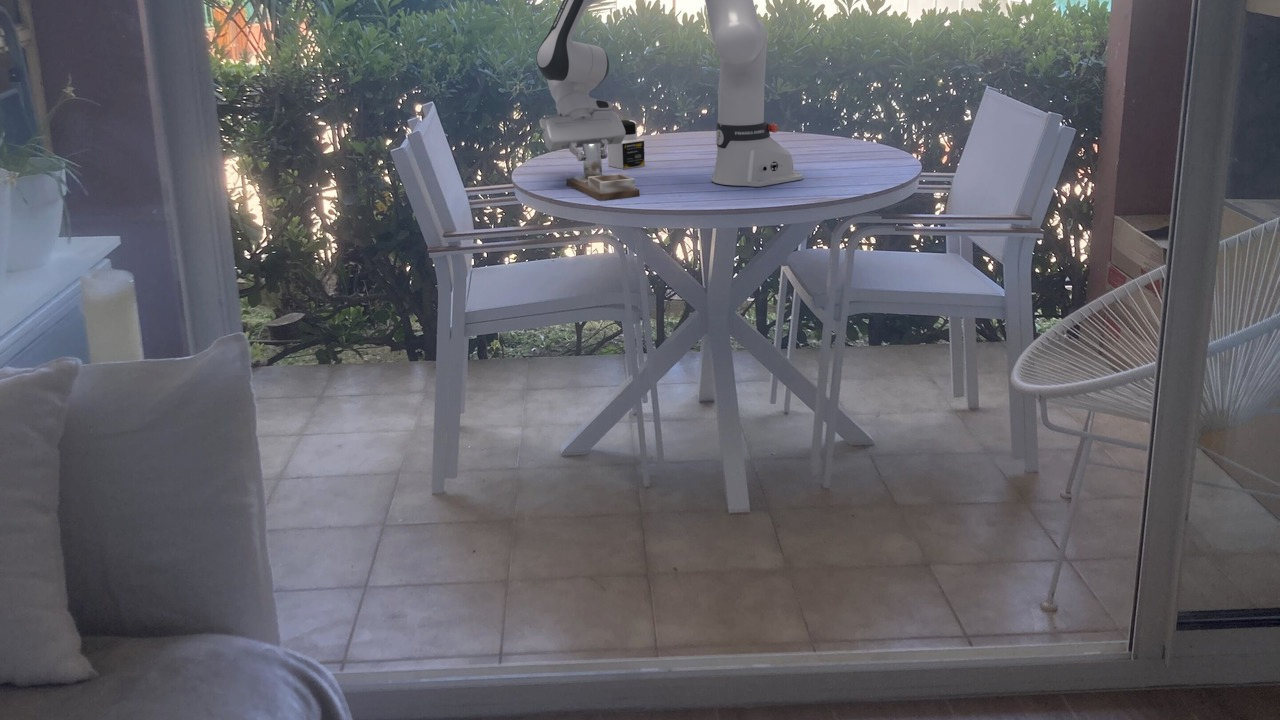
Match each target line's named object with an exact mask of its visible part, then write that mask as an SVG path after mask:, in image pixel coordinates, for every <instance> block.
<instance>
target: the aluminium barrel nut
mask: <svg viewBox="0 0 1280 720" xmlns="http://www.w3.org/2000/svg"><path fill="white" fill-rule="evenodd" d="M601 149H602V148H601V143H600V142H585V143H583V147H582V151H583V152H584V155H585V159H584V161H582V163H583V164H582V165H583V176H584V177H586V178H588V177H591V176H601V175H603V171H602V170H603V166H602V165H603V164H602V159H601Z"/></svg>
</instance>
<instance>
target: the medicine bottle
mask: <svg viewBox="0 0 1280 720" xmlns="http://www.w3.org/2000/svg"><path fill="white" fill-rule="evenodd" d="M620 120H621V122H622V124H623V126H624V128H625V132H626V134H625V137H624V139H623V141H622V143H620V144H609V145H607V154H608V155H607V162H608V164H607V165H608V167H612V168H615V169H616V168H617V169H619V170H628V169H629V170H630V169H635V168H642V167H644V166H645V165H646V161H645V140H644V138H637V137H638V126H637V125H638V123H637V122H636V121H635V120H632V119H623V120H622V119H620Z"/></svg>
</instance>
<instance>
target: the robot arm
mask: <svg viewBox="0 0 1280 720" xmlns="http://www.w3.org/2000/svg"><path fill="white" fill-rule="evenodd" d="M598 1H600V0H562V2H561V5H560V6H559V9H558V11H557V14H556V15H555V19H554V21H552V22H553V23H552V24H551V27H550V28H549V31H548V33H547V34H546V35H545V38H543V39H544V40H542V43H540V45H539V48H538V49H537V52H536V65H537V68H538V70H539V71H540V73H541V74H542V76H543V77H544V78H545V79H546V80H547V81H546V82H547V85H548V89H549V92H550V95H551V97H552V98H553V101H554V102H555V109H556V112H557V114H552V115H548V114H547V115H543V116H542V117H540V119H539V120H538V123H539V127H540V130H542V131H543V138H544V139H543V140H544V143H545V146H546V148H547V149H548V150H550V151H558V150H567V149H568V150H569V152H570V153H571V154H572V155H574V156H575V158H576V159H577V162H583V161H584V159H585V155H584V152H583V150H582V151H581V150H580V149H579V148H583V143H585V142H600V143H601V160H605V159H608V150H607V149H608V145H609V144H620V143H622V141H623V139H624V137H625V134H626V132H625V128H624V126H623V124H622V122H621V120H622V119H621V118H620V116H619V115H618V113H617V112H616V111H614V110H613V109H614V106H613V103H612V102H611V101H608V100H602V99H598V98H594V97H591V96H590V92H592V91H593V90H595V89H597V88H598V87H599V86H600V84H601V83H602V82H604V81H605V80H606V78H607V77H608V75H609V74H610V73H609V71H610V61H609V60H610V59H609V56H608V54H607V52H606V50H605V49H604V48H603V47H601V46H598V45H593V44H590V43H586V42H581V41H580V42H578V41H574V40H572V38H573V36H574V34H575V33H576V30H577V27H578V25H579V23H580V21H581V19H582V18H583V17H582V16H583V14H584V12H585V11H586V9H587V8H588V7H589V6H591V5H592V4H594V3H597V2H598ZM704 2H705V7H706V13H707V18H708V22H709V26H710V27H709V28H710V31H711V36H712V39H713V44H714V48H715V52H716V54H717V55H718V57H719V59H720V64H719V79H718V88H717V102H718V103H717V122H716V133H715V139H716V140H715V141H716V146H717V150H716V156H715V157H716V158H715V159H716V160H715V165H714V171H713V175H712V178H711V182H713V183H715V184H718V185H725V186H735V187H736V186H739V187H741V186H743V187H754V188H755V187H756V188H757V187H765V186H772V185H778V184H782V183H788V182H794V181H800V180H804V179H803V177H804V176H803V173H801V171H798V170H795V168H794V161H793V156H792V154H791V153H790V151H789V150H788V149H787V148H784V147H783V146H782V145H781V144H780V143H779V142H778V141H776V140H775V139H774V138H772V137H771V134H770V132H771V133H777V132H778V131H779V126H778V125H777V124H776V123H775V124H774V123H770V124H769V123H768V122H765V84H766V82H765V80H766V68H767V49H768V48H767V44H768V37H767V36H768V33H767V29H766V27H765V25H764V23H763V22H762V21H761V20H760V19H759V18H758V17H757V12H756V7H755V3H754V0H704Z"/></svg>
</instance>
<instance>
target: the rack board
mask: <svg viewBox="0 0 1280 720" xmlns="http://www.w3.org/2000/svg"><path fill="white" fill-rule="evenodd" d="M635 181H636V180H635V178H633V177H631V176H628V175H626V174H623V173H612V174H602V175H601V176H591V177H588V178H586V177H584V175H583V176H582V175H581V176H574V177H572V178H566V182H565V183H566V186H567V187H570V188H572V189H574V190H576V191H578V192H580V193H582V192H583V193H582V194H584V193H585V194H584V195H587V196H589V197H590V198H592V199H595V200H597V201H599V200H604V201H610V200H612V201H613V200H620V199H629V198H637V197H640V195H641V193H640V189H639V188H636V182H635Z"/></svg>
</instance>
